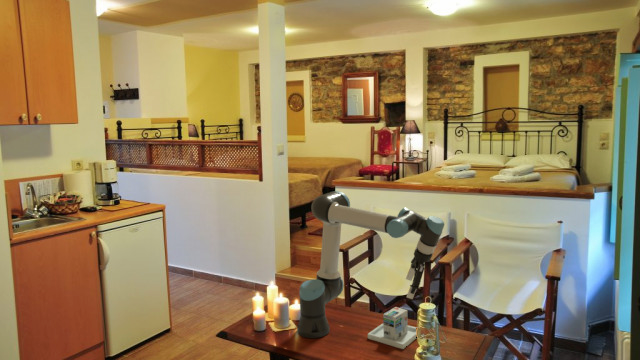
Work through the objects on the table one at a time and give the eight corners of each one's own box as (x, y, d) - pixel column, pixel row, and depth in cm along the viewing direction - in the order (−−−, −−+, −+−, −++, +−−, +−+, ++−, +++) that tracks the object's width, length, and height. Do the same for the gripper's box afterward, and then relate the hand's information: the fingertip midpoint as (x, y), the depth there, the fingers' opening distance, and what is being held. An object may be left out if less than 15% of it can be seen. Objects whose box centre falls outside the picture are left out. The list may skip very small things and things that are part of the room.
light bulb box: (395, 340, 221) (395, 317, 219) (382, 336, 225) (382, 313, 223) (408, 332, 229) (408, 309, 227) (395, 328, 233) (395, 306, 231)
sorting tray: (367, 338, 225) (367, 333, 225) (387, 324, 239) (387, 319, 239) (403, 349, 214) (403, 344, 214) (422, 333, 228) (422, 329, 228)
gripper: (435, 268, 203) (418, 308, 212) (431, 237, 226) (416, 274, 235) (417, 263, 203) (401, 303, 212) (415, 233, 226) (400, 270, 235)
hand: (409, 288), depth 223 cm, fingers open, 13 cm apart
